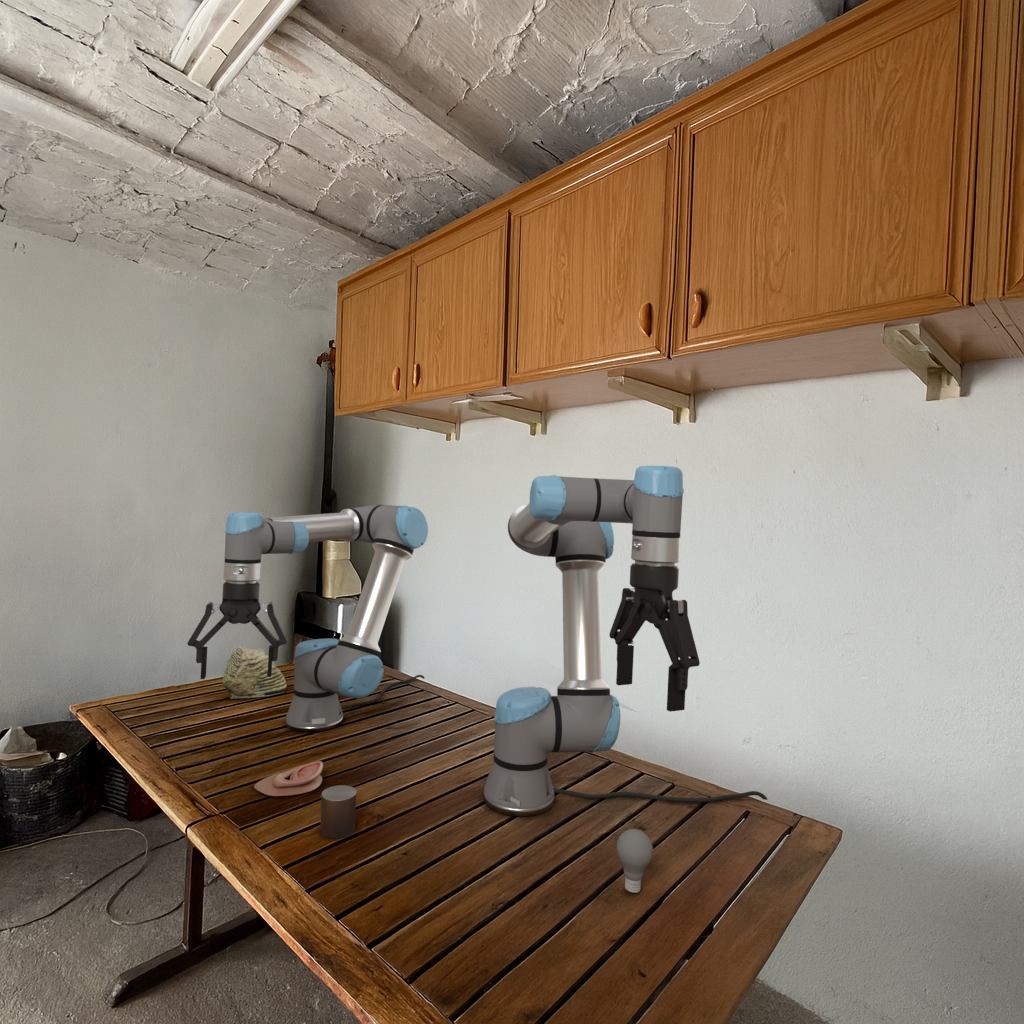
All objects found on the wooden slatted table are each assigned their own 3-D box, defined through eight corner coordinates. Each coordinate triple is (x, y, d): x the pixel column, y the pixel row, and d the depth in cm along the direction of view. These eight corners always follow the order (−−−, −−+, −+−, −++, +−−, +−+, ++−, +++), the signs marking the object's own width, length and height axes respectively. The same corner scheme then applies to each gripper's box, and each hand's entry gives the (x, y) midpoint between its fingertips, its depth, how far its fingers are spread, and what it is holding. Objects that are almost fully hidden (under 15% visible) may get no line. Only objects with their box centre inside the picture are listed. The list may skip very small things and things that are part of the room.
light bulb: (610, 879, 108) (613, 822, 108) (644, 879, 109) (647, 822, 109) (619, 902, 102) (622, 840, 102) (655, 901, 103) (658, 840, 103)
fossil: (218, 695, 195) (220, 647, 195) (278, 685, 208) (279, 640, 207) (228, 703, 189) (230, 653, 188) (289, 692, 201) (290, 645, 201)
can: (316, 826, 122) (317, 789, 122) (348, 818, 125) (350, 782, 125) (325, 842, 117) (327, 803, 116) (359, 833, 120) (361, 796, 120)
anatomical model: (246, 773, 134) (276, 753, 145) (245, 792, 134) (276, 770, 145) (303, 782, 131) (330, 760, 142) (302, 801, 131) (329, 777, 142)
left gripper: (176, 582, 133) (171, 683, 134) (300, 584, 141) (295, 679, 142) (182, 578, 141) (177, 673, 141) (300, 580, 149) (295, 670, 149)
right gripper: (593, 555, 110) (587, 676, 111) (687, 573, 88) (679, 725, 88) (629, 555, 113) (623, 673, 114) (729, 572, 91) (721, 720, 91)
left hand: (236, 676), depth 141 cm, fingers open, 13 cm apart
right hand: (648, 696), depth 101 cm, fingers open, 13 cm apart
